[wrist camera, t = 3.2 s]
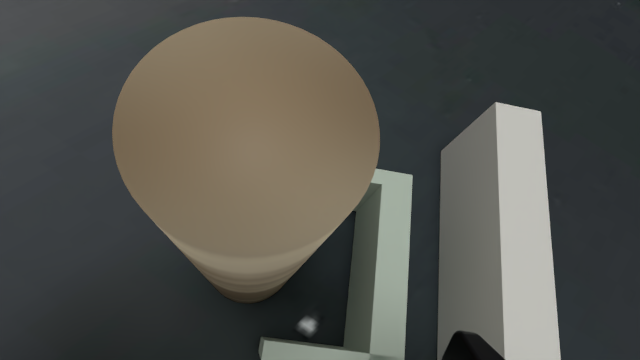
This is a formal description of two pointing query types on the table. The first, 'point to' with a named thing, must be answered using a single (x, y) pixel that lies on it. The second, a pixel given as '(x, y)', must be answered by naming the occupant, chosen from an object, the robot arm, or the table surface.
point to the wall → (497, 237)
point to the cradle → (369, 280)
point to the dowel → (246, 147)
